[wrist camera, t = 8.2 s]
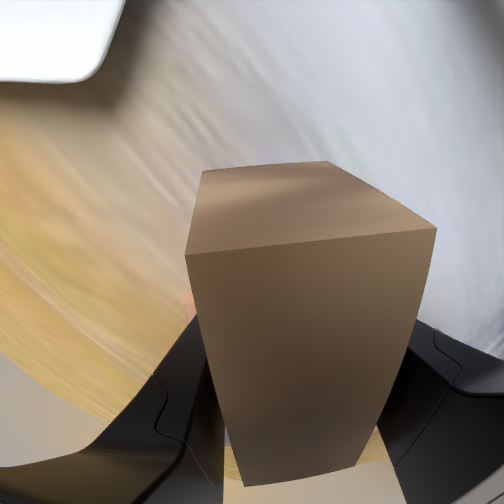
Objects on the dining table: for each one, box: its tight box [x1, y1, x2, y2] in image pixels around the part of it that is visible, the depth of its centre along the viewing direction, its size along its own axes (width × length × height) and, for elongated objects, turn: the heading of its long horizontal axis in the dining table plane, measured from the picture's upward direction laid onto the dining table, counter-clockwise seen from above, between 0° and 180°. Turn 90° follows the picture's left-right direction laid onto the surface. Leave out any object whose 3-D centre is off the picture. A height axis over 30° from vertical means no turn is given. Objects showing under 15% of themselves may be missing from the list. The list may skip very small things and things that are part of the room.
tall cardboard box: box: [185, 161, 437, 487], centre depth 9 cm, size 6×13×5 cm, turn 4°
